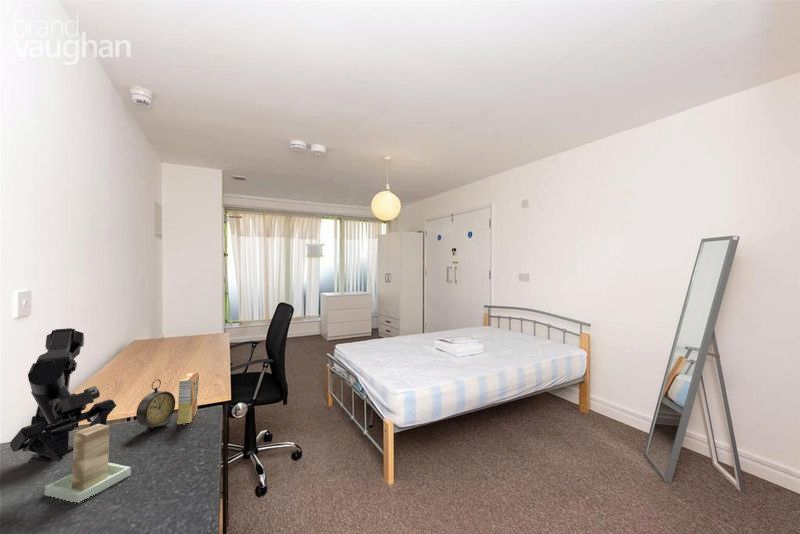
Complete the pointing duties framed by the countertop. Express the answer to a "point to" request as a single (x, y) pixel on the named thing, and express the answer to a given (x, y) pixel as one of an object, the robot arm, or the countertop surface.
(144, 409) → the alarm clock
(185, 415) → the candy box
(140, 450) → the countertop surface
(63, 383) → the robot arm
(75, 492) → the green tray
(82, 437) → the beech block
